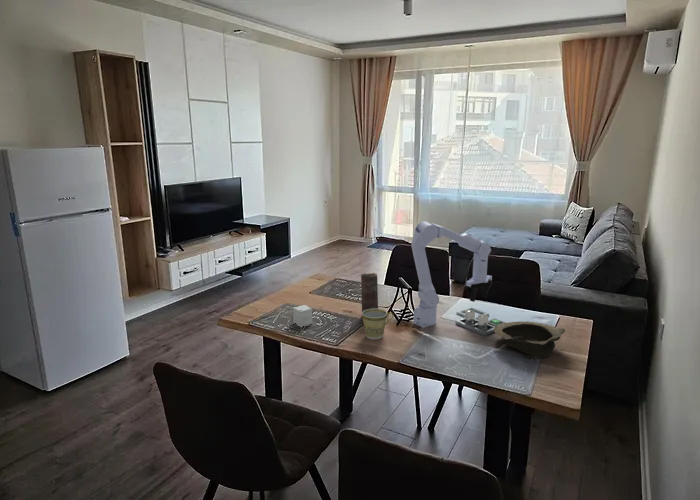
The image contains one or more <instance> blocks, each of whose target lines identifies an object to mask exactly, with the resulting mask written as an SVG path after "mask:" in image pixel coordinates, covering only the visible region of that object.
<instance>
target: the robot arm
mask: <svg viewBox="0 0 700 500" xmlns="http://www.w3.org/2000/svg"><path fill="white" fill-rule="evenodd" d="M441 237H444V238H447V239H449V240H453V241H455V242H457V244H458V246H459V247H461V248H462V249H463V248H464V249H466V250H468V251H470V252H473V261H472V262H473V263H472V277H471V278H469V280H466V283H465V284H464V286H465V289H466V291H467V293H468V297H469V301H471V302H476V297H477V292H478V290H479V286H476V285H478V284H480V295H481V297H482V298H484V299H486V298H487V296H488V294H489V290H490V289H491V287H492V286H493V284H494V283H493V281H492V280H493V275H489V274H487V273H488V262H489V261H488V260H489V254H491V252H492V248H491V245H490V244H489V243H487V242H486V241H484V240H482V239H481V238H479V237H474V236H473V235H472V234H471V233H465V232H464V233H462V234H460V233H459V232H458V233H457V232H455V231H454V230H451V229H448V228H447V227H445V226H442V225H440V224H436V223H433V222H431V223H430V222H429V221H427V220H423V221H421V222H419V223H418V224H417V225H416V227H415V228H414V233H413V237H412V241H411V245H410V246H411V250H412V255H413V260H414V264H415V269H416V273H417V278H418V281H419V284H418V292H417V295H418V299H420V301H419V305H418V306H417V307H415V308H414V309H413V324H414V325H416V326H418V327H421V328H427V327H431V326H434V325H437V311H438V310H437V307H438V306H437V305H438V304H439V303H440V297H439V294H437V293H436V289H435V287H434V285H433V282H432V277H431V273H430V271H431V270H430V268H429V262H428V258H427V253H426V247H427V246H428V245H429V244H430V243H431V242H433V241H435V239H437V238H438V239H439V238H441Z"/></svg>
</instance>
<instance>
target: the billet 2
mask: <svg viewBox="0 0 700 500" xmlns="http://www.w3.org/2000/svg"><path fill="white" fill-rule="evenodd" d="M477 316H478V325H477V328H478V329H481V330H483V331H486V330H487V329H488V321H489V316H487V315H484V314H481V313H479V314H478V315H477Z"/></svg>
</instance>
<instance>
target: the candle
mask: <svg viewBox="0 0 700 500" xmlns="http://www.w3.org/2000/svg"><path fill="white" fill-rule="evenodd" d="M360 278H361V279H360V283H361V284H360V285H361V286H360V287H361V289H360V290H361V313H362V312H363V311H364V310H367V309H379V292H378V287H379V286H378V274H377V273H375V272H373V273H361V274H360Z"/></svg>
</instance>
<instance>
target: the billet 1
mask: <svg viewBox="0 0 700 500" xmlns="http://www.w3.org/2000/svg"><path fill="white" fill-rule="evenodd" d="M464 314H465V317H464V318H465V323H466V324H468V325H473V324H474V322H475V317H476V312H475V311H474V310H465V312H464Z"/></svg>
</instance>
